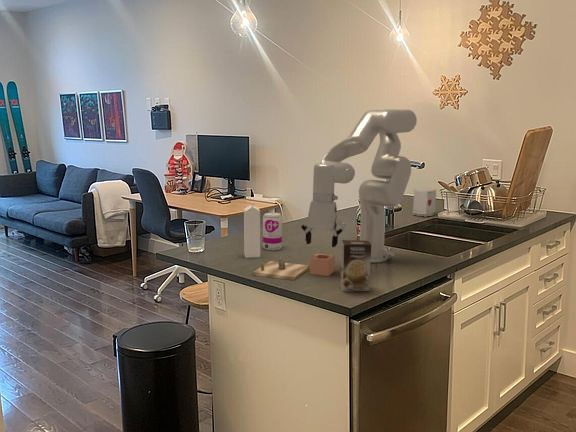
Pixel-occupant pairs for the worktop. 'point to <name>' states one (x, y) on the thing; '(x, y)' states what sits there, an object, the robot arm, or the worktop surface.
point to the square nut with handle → (322, 264)
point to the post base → (281, 270)
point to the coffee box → (355, 265)
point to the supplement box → (424, 201)
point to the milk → (251, 231)
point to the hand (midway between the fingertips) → (321, 245)
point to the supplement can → (272, 231)
